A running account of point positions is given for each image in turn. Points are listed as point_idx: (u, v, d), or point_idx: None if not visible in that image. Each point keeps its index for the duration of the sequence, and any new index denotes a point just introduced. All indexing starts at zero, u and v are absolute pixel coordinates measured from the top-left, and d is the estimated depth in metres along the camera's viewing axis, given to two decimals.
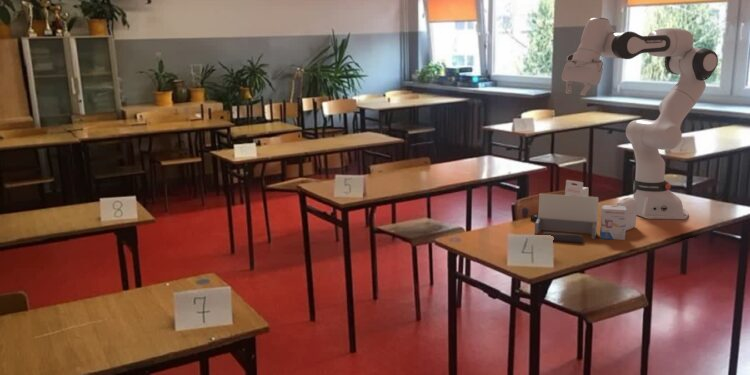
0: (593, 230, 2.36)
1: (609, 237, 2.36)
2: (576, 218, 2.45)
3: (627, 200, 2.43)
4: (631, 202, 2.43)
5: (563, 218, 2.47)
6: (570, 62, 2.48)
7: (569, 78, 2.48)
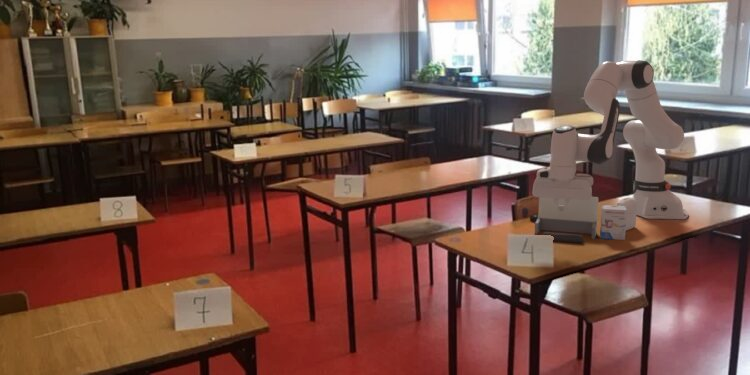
0: (593, 230, 2.36)
1: (609, 237, 2.36)
2: (576, 218, 2.45)
3: (627, 200, 2.43)
4: (631, 202, 2.43)
5: (563, 218, 2.47)
6: (545, 179, 2.24)
7: (548, 195, 2.26)
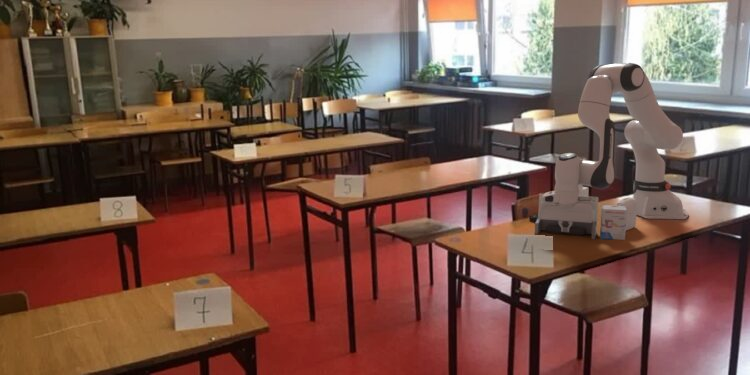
0: (593, 230, 2.36)
1: (609, 237, 2.36)
2: None
3: (627, 200, 2.43)
4: (631, 202, 2.43)
5: None
6: (550, 203, 2.39)
7: (553, 218, 2.40)
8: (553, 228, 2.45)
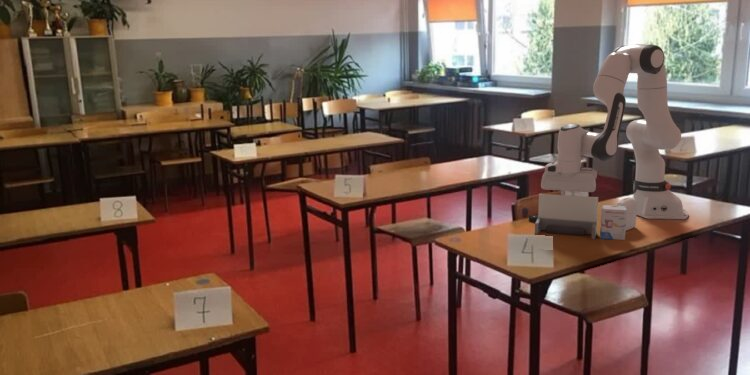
0: (593, 230, 2.36)
1: (609, 237, 2.36)
2: (576, 218, 2.45)
3: (627, 200, 2.43)
4: (631, 202, 2.43)
5: (563, 218, 2.47)
6: (552, 173, 2.44)
7: (555, 188, 2.46)
8: (553, 229, 2.44)
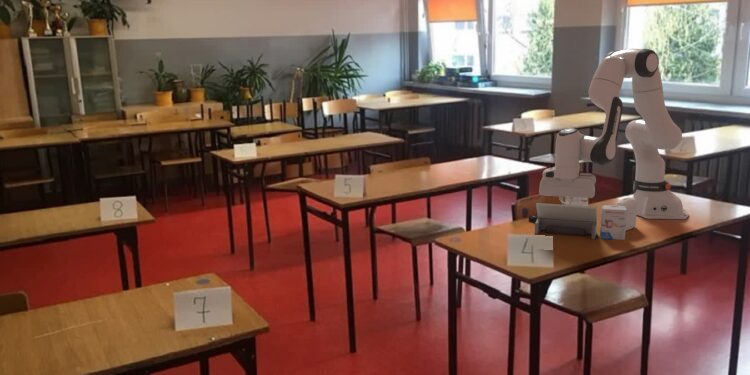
0: (593, 230, 2.36)
1: (609, 237, 2.36)
2: (576, 219, 2.45)
3: (627, 200, 2.43)
4: (631, 202, 2.43)
5: (563, 218, 2.47)
6: (550, 178, 2.39)
7: (554, 194, 2.41)
8: (553, 230, 2.44)
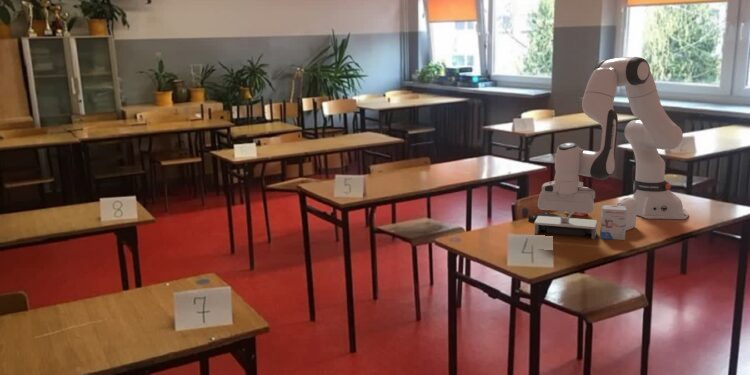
0: (593, 230, 2.36)
1: (609, 237, 2.36)
2: None
3: (627, 200, 2.43)
4: (631, 202, 2.43)
5: None
6: (549, 193, 2.38)
7: (552, 208, 2.40)
8: (553, 232, 2.44)
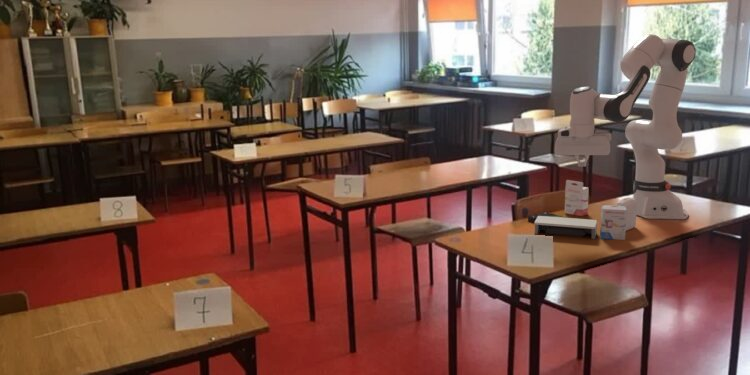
0: (593, 230, 2.36)
1: (609, 237, 2.36)
2: None
3: (627, 200, 2.43)
4: (631, 202, 2.43)
5: None
6: (566, 137, 2.40)
7: (569, 153, 2.42)
8: (552, 233, 2.44)
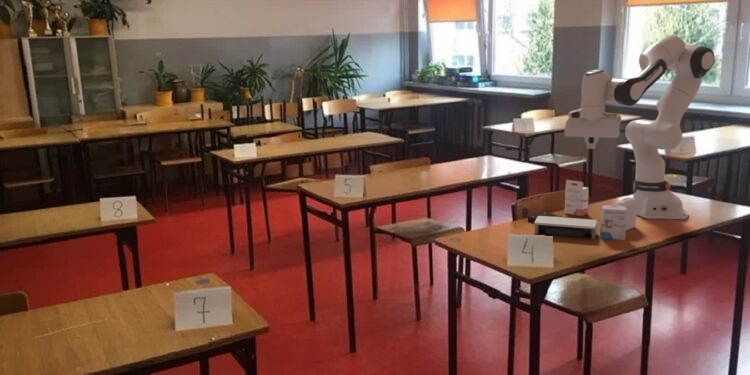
0: (593, 230, 2.36)
1: (609, 237, 2.36)
2: None
3: (627, 200, 2.43)
4: (631, 202, 2.43)
5: None
6: (576, 119, 2.44)
7: (579, 134, 2.45)
8: None
